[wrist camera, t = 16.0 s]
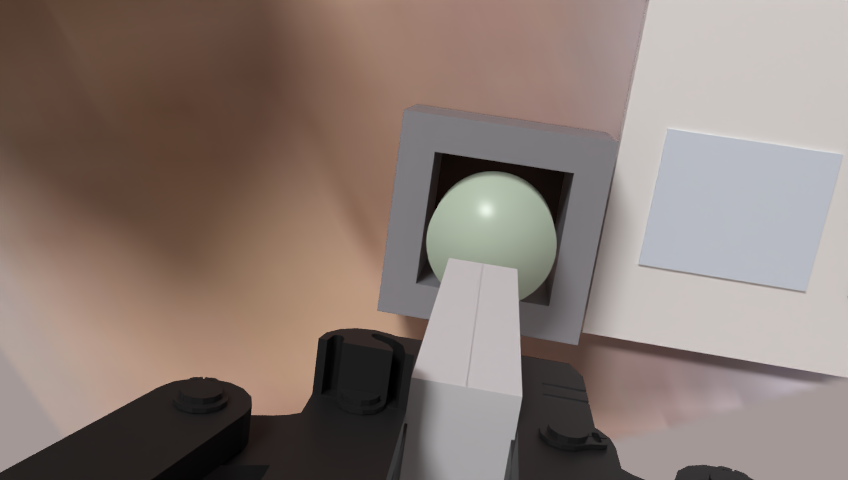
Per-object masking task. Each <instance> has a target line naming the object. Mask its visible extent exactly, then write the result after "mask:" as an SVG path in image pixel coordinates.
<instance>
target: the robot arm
mask: <svg viewBox="0 0 848 480" xmlns="http://www.w3.org/2000/svg"><path fill="white" fill-rule="evenodd" d="M588 402H589V401H588V397H587V393H586V388H585V384H584V380H583V377H582V376H581V375H580V374H579V373H578V372H577V371H576V370H575V369H574V368H573V367H572V366H570V365H569V364H568V363H562V362H556V361H550V360H544V359H539V358H533V357H527V356H521V349H520V323H519V297H518V272H517V269H514V268H508V267H502V266H496V265H489V264H483V263H477V262H471V261H465V260H459V259H453V258H449V259H448V263H447V266H446V269H445V272H444V275H443V278H442V282H441V285H440V288H439V291H438V294H437V297H436V301H435V304H434V307H433V310H432V313H431V316H430V320H429V323H428V326H427V329H426V332H425V335H424V339H423V341H421V340H416V339H410V338H404V337H398V336H394V335H392V334H388V333H384V332H380V331H376V330H368V329H358V328H354V329H339V330H335V331H331V332H327V333H325V334H324V335H323V336H321V337H320V338H319V341H318V349H317V358H316V367H315V376H314V384H313V393H312V395H311V397H310V399H309V401H308V402H307V404H306V406H305V407H304V409H303V411H302V412H301V413H297V414H291V415H276V416H266V415H251V409H252V401H251V396H250V395H249V394H248V393H247V392H246V391H245V390H244V389H243V388H241V387H238V386H236V385H234V384H232V383H229V382H224V381H219V380H218V379H216V378H208V377H205V379H203V377H193V378H190V379H187V380H180V381H174V382H171V383H168V384H166V385H163V386H160V387H158V388H156V389H154V390H152V391H151V392H149V393H147V394H145V395H143V396H141V397H139V398H138V399H136V400H134V401H132V402H130V403H128V404H127V405H125V406H123V407H121V408H119V409H117V410H115V411H114V412H112V413H110V414H108V415H106V416H104V417H102V418H101V419H99V420H97V421H95V422H93V423H91V424H89V425H88V426H86V427H84V428H82V429H80V430H78V431H76V432H75V433H73V434H71V435H69V436H67V437H65V438H64V439H62V440H60V441H58V442H56V443H54V444H52V445H51V446H49V447H47V448H45V449H43V450H41V451H39V452H38V453H36V454H34V455H32V456H30V457H28V458H27V459H25V460H23V461H21V462H19V463H17V464H15V465H14V466H12V467H10V468H8V469H6V470H4V471H3V472H1V473H0V480H644V479H641V478H639V477H637V476H634V475H632V474H630V473H628V472H626V471H625V470H623V469H621V466H620V462H619V458H618V455H617V451H616V448H615V446H614V444H613V443H612V441H611V440H610V438H609V437H607V436H606V435H605V434H603V433H602V432H601V431H599V430H598V429H596V428H595V427H594V422H593V418H592V414H591V410H590V405H589V404H588ZM675 480H753V479H751V478H749V477H748V476H747V475H746V474H744V473H742V472H739V471H736V470H735V471H732V469H730V468H727V467H722V466H719V467H713V466H707V465H696V466H687V467H685V468H683V469H681V470H679V471H678V472H677V475H676V478H675Z"/></svg>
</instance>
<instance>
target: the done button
mask: <svg viewBox="0 0 848 480" xmlns="http://www.w3.org/2000/svg"><path fill="white" fill-rule="evenodd" d="M426 247H427V255H428V259H429V262H430V265H431V268H432V270H433V272H434V274H435V275H436V277H437V278H438V280H439V281H440V282H442V278H443V275H444V272H445V269H446V266H447V263H448V259H449V258H453V259H459V260H465V261H471V262H477V263H483V264H489V265H496V266H502V267H508V268H514V269H517V272H518V297H519V301H520V300H522V299H524V298H525V297H527V296H529V295H530V294H531V293H533V292H534V291H535V290H536V289H537V288H538V287H539V286H540V285H541V284H542V283H543V282H544V280H545V279H546V278H547V276H548V274H549V272H550V271H551V268H552V266H553V263H554V259H555V256H556V248H557V241H556V232H555V228H554V223H553V219H552V216H551V212H550V209H549V207H548V205H547V203H546V201H545V199H544V198H543V196H542V195H541V194H540V193H539V191H538V190H537V189H536V188H535V187H534V186H532V185H531V184H530V183H529V182H527V181H526V180H524V179H522V178H520V177H518V176H516V175H513V174H510V173H506V172H499V171H486V172H480V173H476V174H473V175H470V176H468V177H466V178H464V179H462V180H460V181H459V182H457V183H456V184H455V185H454V186H452V187H451V188H450V189H449V190H448V191H447V192H446V194H445V195H444V197H443V198H442V199H441V201H440V203H439V205H438V207H437V209H436V210H435V212H434V214H433V216H432V218H431V221H430V224H429V226H428V231H427V239H426Z"/></svg>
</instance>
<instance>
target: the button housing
mask: <svg viewBox="0 0 848 480" xmlns="http://www.w3.org/2000/svg"><path fill="white" fill-rule="evenodd" d="M618 143H619V142H618V141H616V140H615V139H614V138H613V137H611V136H610V135H609V134H607V133H606V132H599V131H592V130H586V129H579V128H572V127H566V126H559V125H552V124H546V123H539V122H532V121H526V120H519V119H512V118H506V117H499V116H492V115H485V114H479V113H472V112H465V111H459V110H452V109H445V108H439V107H432V106H425V105H419V104H416V105H414V106H412V107H409V108H407V109H405V110H404V112H403V120H402V127H401V135H400V142H399V150H398V158H397V165H396V173H395V180H394V188H393V196H392V203H391V211H390V218H389V226H388V234H387V241H386V249H385V256H384V264H383V272H382V279H381V287H380V294H379V302H378V309H377V311H382V312H388V313H394V314H399V315H405V316H411V317H417V318H422V319H428V320H430V316H431V313H432V310H433V307H434V304H435V301H436V297H437V294H438V291H439V288H440V285H441V282H440V281H439V280H438V278H437V277H436V275H435V274H434V272H433V270H432V268H431V265H430V262H429V259H427V256H428V255H427V247H426V239H427V231H428V226H429V224H430V221H431V218H432V216H433V214H434V208H435V201H436V194H437V187H438V180H439V174H440V167H441V160H442V153H447V154H453V155H460V156H466V157H473V158H479V159H486V160H492V161H498V162H505V163H511V164H518V165H524V166H531V167H537V168H544V169H550V170H557V171H563V172H565V174H564V179H563V184H562V190H561V195H560V201H559V206H558V211H557V217H556V222H555V227H554V228H555V232H556V241H557V248H556V256H555V259H554V263H553V266H552V268H551V271H550V272H549V274H548V276H547V278H546V279H545V280H544V282H543V283H542V284H541V285H540V286H539V287H538V288H537V289H536V290H535V291H534V292H533V293H531V294H530V295H529V296H527V297H525V298H524V299H522V300H520V301H519V323H520V335H521V336H527V337H533V338H538V339H544V340H550V341H556V342H562V343H567V344H573V345H578V342H579V337H580V332H581V327H582V322H583V317H584V312H585V307H586V302H587V297H588V292H589V287H590V282H591V277H592V272H593V267H594V262H595V257H596V252H597V247H598V242H599V237H600V232H601V227H602V222H603V218H604V213H605V208H606V203H607V198H608V193H609V188H610V183H611V178H612V173H613V168H614V163H615V158H616V153H617V148H618Z"/></svg>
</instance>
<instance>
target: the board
mask: <svg viewBox="0 0 848 480" xmlns="http://www.w3.org/2000/svg"><path fill="white" fill-rule="evenodd" d="M618 142H619V143H618V148H617V153H616V158H615V163H614V168H613V173H612V178H611V183H610V188H609V193H608V198H607V203H606V208H605V213H604V218H603V222H602V227H601V232H600V237H599V242H598V247H597V252H596V257H595V262H594V267H593V272H592V277H591V282H590V287H589V292H588V297H587V302H586V307H585V312H584V317H583V322H582V327H581V329H582V332H583V333H589V334H594V335H600V336H606V337H612V338H618V339H624V340H630V341H635V342H641V343H647V344H653V345H659V346H665V347H670V348H676V349H682V350H688V351H694V352H700V353H706V354H711V355H717V356H723V357H729V358H735V359H741V360H746V361H752V362H758V363H764V364H770V365H776V366H782V367H787V368H793V369H799V370H805V371H811V372H817V373H822V374H828V375H834V376H840V377H846V378H848V0H647V1H646V6H645V11H644V16H643V21H642V26H641V31H640V36H639V41H638V46H637V51H636V56H635V61H634V66H633V71H632V76H631V81H630V86H629V91H628V96H627V101H626V106H625V111H624V116H623V121H622V126H621V131H620V136H619V141H618Z"/></svg>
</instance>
